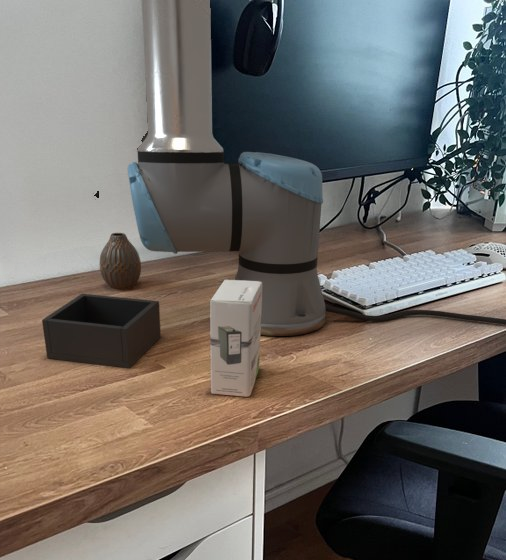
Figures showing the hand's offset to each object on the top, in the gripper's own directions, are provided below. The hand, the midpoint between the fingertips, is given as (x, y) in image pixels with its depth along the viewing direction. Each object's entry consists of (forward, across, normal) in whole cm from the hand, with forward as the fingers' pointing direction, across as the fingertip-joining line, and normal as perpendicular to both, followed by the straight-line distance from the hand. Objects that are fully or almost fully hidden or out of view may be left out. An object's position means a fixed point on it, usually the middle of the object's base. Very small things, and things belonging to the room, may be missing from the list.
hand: (134, 203), depth 119 cm
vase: (+14, 0, -3) cm, 15 cm away
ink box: (+38, -29, +20) cm, 52 cm away
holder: (+33, -9, +16) cm, 38 cm away
